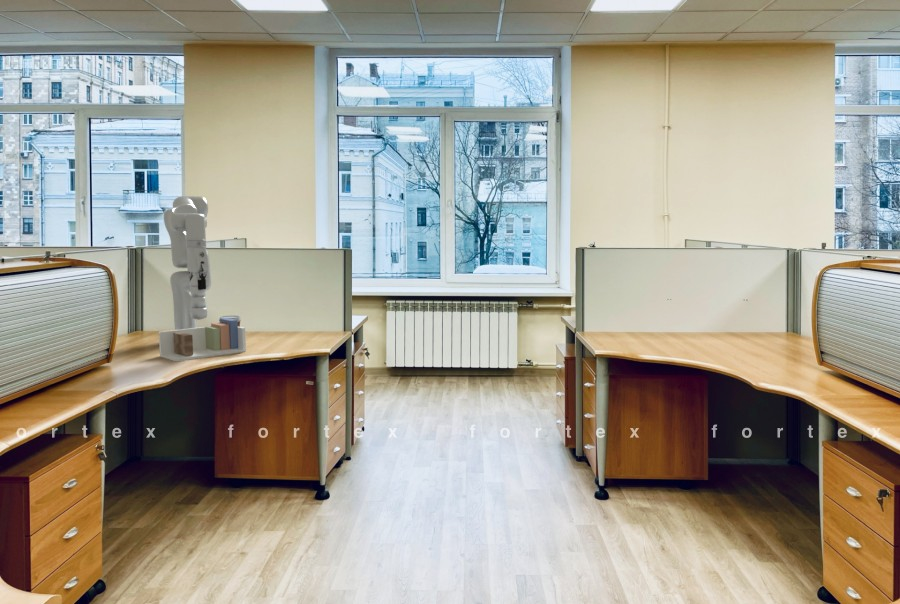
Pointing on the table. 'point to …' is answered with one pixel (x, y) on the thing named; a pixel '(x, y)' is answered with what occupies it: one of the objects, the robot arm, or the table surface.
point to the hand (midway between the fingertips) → (198, 288)
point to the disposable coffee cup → (233, 318)
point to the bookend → (183, 343)
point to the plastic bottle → (197, 299)
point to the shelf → (196, 344)
